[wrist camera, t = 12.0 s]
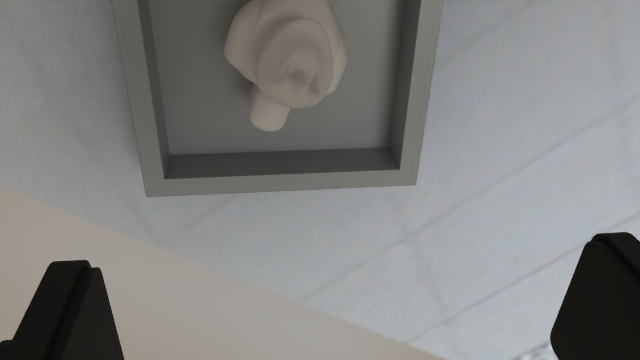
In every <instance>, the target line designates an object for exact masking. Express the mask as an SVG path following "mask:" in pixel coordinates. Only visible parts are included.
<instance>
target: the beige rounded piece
mask: <svg viewBox="0 0 640 360" xmlns="http://www.w3.org/2000/svg"><path fill="white" fill-rule="evenodd" d="M224 54H225V57H226V59H227V60H228V62H229V63H230V64H231V65H232V66H234V67H235V68H236V69H237V70H239V72H240V73H241V74H242V75H243V76H244V77H245V78H246V79H248V80H250V81H252V82H253V83H254V85H253V87H252V92H251V102H250V108H249V118H250V120H251V122H252V124H253V125H254V126H255V127H257V128H258V129H260V130H263V131H267V132H273V131H277V130H279V129H281V128H282V127H283V126H284V124H285V121H286V119H287V116H288V114H289V110H290V108H307V107H310V106H313V105H315V104H317V103H318V102H320V101H321V100H322V99H323V98H324V96H325V95H328V94H331V93H332V92H334V91H335V89H336V88H337V86H338V84H339V82H340V79H341V77H342V74H343V72H344V70H345V67H346V64H347V51H346V44H345V40H344V37H343V34H342V32H341V30H340V28H339V27H338V23H337V20H336V18H335V15H334V13H333V11H332V8H331V6H330V4H329V2H328V0H252V1H250V2H248V3H247V4H246V5H245V6H243V7H242V8H241V9H240V10H239V12H238V13H237V14H236V15H235V17H234V19H233V21H232V23H231V26H230V29H229V32H228V35H227V39H226V42H225V46H224Z"/></svg>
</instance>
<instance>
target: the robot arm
mask: <svg viewBox="0 0 640 360" xmlns="http://www.w3.org/2000/svg"><path fill="white" fill-rule="evenodd" d="M550 340H551V345H552V348H553V350H554V352H555V354H556V356H557V357H558V359H559V360H640V242H639V241H638V240H637V239H636V238H635V237H634V236H633V235H632V234H630V233H627V232H619V233H601V234H596V235H595V236H594V237H593V238H592V240H591V241H590V242H588V243H586V245H585V246H584V249H583V251H582V254H581V256H580V259H579V261H578V264H577V267H576V269H575V272H574V274H573V277H572V279H571V282H570V285H569V287H568V290H567V292H566V295H565V297H564V300H563V303H562V305H561V308H560V310H559V313H558V315H557V318H556V321H555V323H554V326H553V328H552V331H551V335H550ZM0 360H124V357H123V352H122V349H121V345H120V341H119V337H118V333H117V330H116V326H115V322H114V318H113V314H112V310H111V306H110V303H109V299H108V295H107V291H106V287H105V283H104V279H103V276H102V272H101V270H100V268H97V267H96V268H91V266H90V264H89V262H88V261H87V260H75V261H55V262H52V263H51V264H50V265H49V266H48V268H47V270H46V272H45V274H44V276H43V278H42V280H41V282H40V284H39V286H38V288H37V291H36V292H35V295H34V297H33V299H32V301H31V303H30V305H29V307H28V309H27V311H26V313H25V315H24V317H23V319H22V321H21V323H20V325H19V327H18V329H17V331H16V333H15V335H14V337H13V339H12V340H5V341H2V342H0Z"/></svg>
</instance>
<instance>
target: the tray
mask: <svg viewBox="0 0 640 360" xmlns="http://www.w3.org/2000/svg"><path fill="white" fill-rule="evenodd" d="M111 1H112V7H113V12H114V18H115V24H116V29H117V35H118V40H119V46H120V52H121V57H122V63H123V69H124V74H125V80H126V86H127V91H128V97H129V103H130V108H131V114H132V119H133V125H134V131H135V136H136V142H137V148H138V153H139V159H140V165H141V170H142V176H143V182H144V187H145V193H146V197H161V196H183V195H205V194H228V193H250V192H272V191H294V190H316V189H338V188H361V187H383V186H405V185H416V181H417V174H418V167H419V161H420V154H421V147H422V141H423V134H424V127H425V120H426V114H427V107H428V100H429V94H430V87H431V80H432V73H433V67H434V60H435V53H436V47H437V40H438V33H439V26H440V20H441V13H442V6H443V0H328V2H329V4H330V6H331V8H332V11H333V13H334V15H335V18H336V20H337V23H338V27H339V28H340V30H341V32H342V34H343V37H344V40H345V44H346V51H347V64H346V67H345V70H344V72H343V74H342V77H341V79H340V82H339V84H338V86H337V88H336V89H335V91H334V92H332V93H331V94H328V95H325V96H324V98H323V99H322V100H321V101H320V102H318V103H317V104H315V105H313V106H310V107H307V108H290V110H289V114H288V116H287V119H286V121H285V124H284V126H283V127H282V128H281V129H279V130H277V131H273V132H267V131H263V130H260V129H258V128H257V127H255V126H254V125H253V124H252V122H251V120H250V118H249V108H250V102H251V92H252V87H253V85H254V83H253V82H252V81H250V80H248V79H246V78H245V77H244V76H243V75H242V74H241V73H240V72H239V70H237V69H236V68H235V67H234V66H232V65H231V64H230V63H229V62H228V60H227V59H226V57H225V54H224V46H225V42H226V39H227V35H228V32H229V29H230V26H231V23H232V21H233V19H234V17H235V15H236V14H237V13H238V12H239V10H240V9H241V8H242V7H243V6H245V5H246V4H247V3H248V2H250V1H252V0H111Z"/></svg>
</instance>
